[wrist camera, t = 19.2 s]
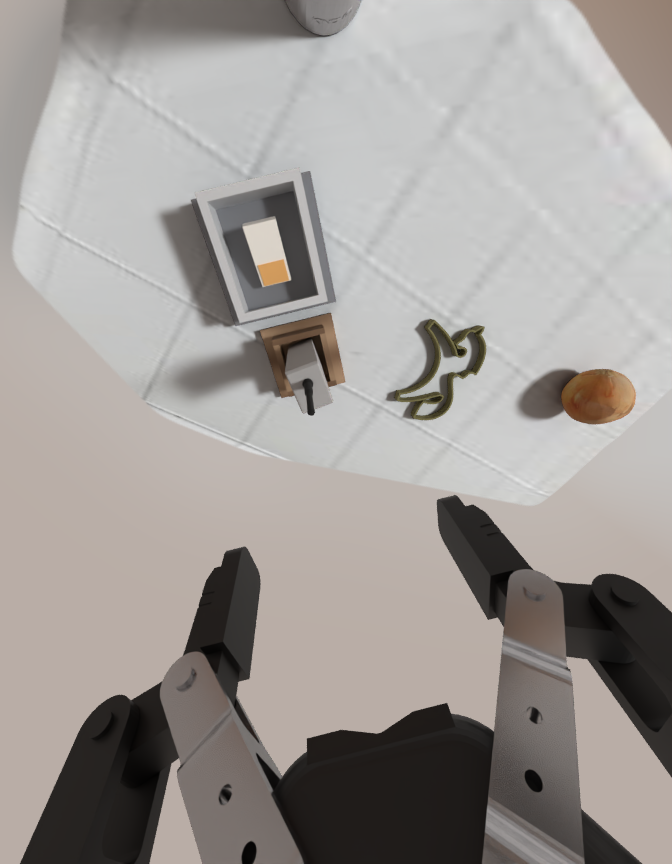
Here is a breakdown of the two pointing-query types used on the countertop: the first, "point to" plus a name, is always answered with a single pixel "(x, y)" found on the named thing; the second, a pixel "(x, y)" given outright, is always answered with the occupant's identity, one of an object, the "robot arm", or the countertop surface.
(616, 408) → the onion
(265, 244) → the plate
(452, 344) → the cookie cutter
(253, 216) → the box
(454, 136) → the countertop surface
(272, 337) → the stand
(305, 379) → the vintage mobile phone
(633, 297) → the countertop surface
